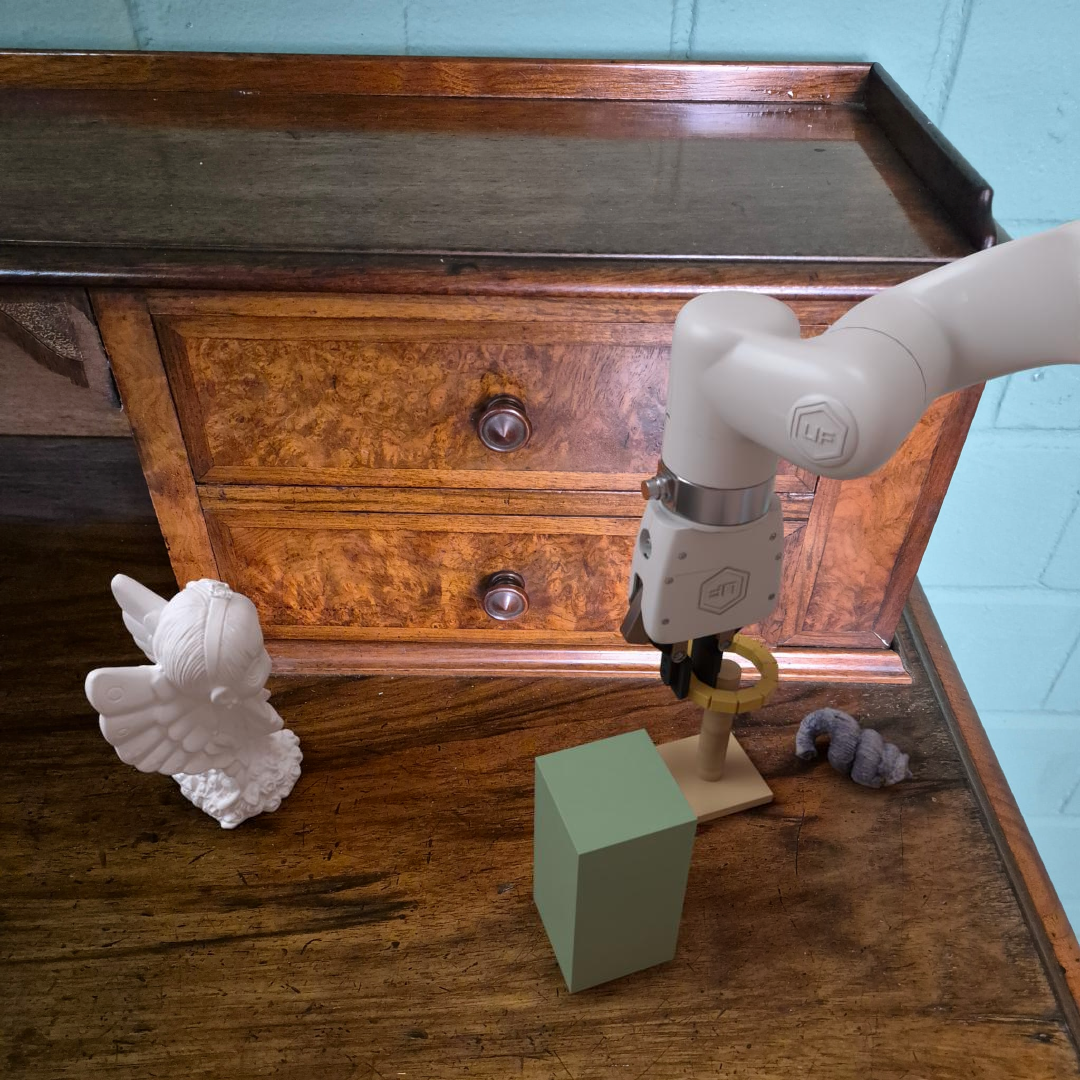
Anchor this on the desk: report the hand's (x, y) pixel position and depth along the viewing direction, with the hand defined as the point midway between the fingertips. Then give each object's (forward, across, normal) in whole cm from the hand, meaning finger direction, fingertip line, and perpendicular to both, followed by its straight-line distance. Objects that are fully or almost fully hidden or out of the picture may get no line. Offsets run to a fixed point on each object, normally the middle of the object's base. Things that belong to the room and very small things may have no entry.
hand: (688, 682), depth 73 cm
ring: (0, +3, 0) cm, 3 cm away
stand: (+13, -11, -10) cm, 19 cm away
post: (+13, +3, 0) cm, 13 cm away
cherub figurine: (+13, -36, +13) cm, 40 cm away
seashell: (+13, +16, -3) cm, 21 cm away
